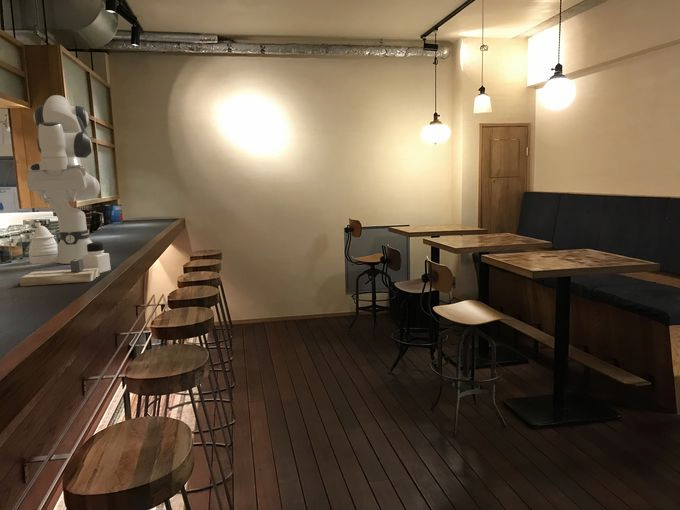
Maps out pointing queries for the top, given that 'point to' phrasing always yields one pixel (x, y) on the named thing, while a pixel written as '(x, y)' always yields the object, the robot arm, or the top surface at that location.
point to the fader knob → (77, 265)
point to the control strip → (59, 276)
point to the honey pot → (42, 246)
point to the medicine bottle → (96, 257)
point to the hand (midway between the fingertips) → (59, 202)
